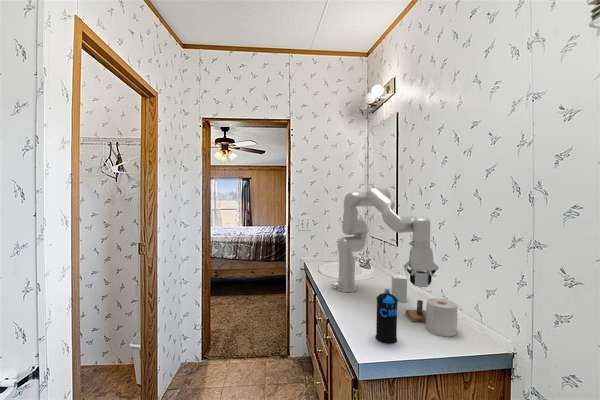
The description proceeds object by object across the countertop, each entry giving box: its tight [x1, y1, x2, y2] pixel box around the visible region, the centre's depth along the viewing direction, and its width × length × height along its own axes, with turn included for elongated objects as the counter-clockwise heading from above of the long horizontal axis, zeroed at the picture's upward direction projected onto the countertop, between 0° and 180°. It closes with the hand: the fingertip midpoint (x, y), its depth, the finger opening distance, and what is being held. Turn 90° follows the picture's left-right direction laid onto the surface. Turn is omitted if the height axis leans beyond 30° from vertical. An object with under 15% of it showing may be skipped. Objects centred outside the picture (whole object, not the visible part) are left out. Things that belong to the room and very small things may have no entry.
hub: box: [412, 270, 429, 288], centre depth 141 cm, size 6×6×6 cm
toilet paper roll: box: [425, 297, 458, 337], centre depth 129 cm, size 12×12×12 cm
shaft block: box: [405, 299, 426, 324], centre depth 141 cm, size 10×10×8 cm
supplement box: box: [390, 274, 408, 303], centre depth 166 cm, size 7×7×13 cm
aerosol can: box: [375, 287, 399, 344], centre depth 120 cm, size 8×8×20 cm
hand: (420, 283), depth 141 cm, fingers closed on hub, 6 cm apart
